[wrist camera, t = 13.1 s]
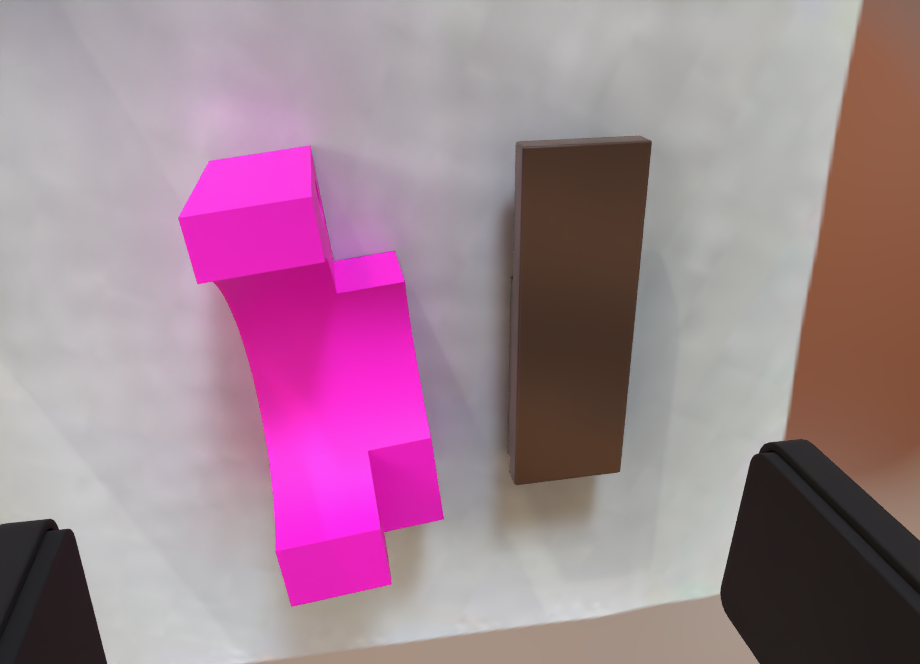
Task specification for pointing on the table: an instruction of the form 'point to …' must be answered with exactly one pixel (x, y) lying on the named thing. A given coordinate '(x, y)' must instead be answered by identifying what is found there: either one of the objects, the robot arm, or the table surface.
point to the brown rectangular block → (573, 303)
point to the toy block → (318, 370)
